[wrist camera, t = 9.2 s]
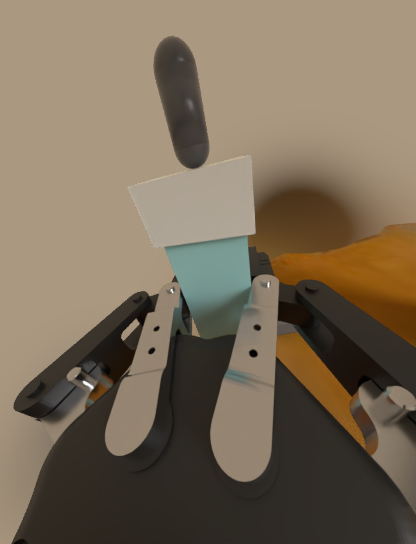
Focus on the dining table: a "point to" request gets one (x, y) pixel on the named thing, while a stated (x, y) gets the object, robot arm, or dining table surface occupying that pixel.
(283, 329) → the holster
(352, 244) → the dining table surface
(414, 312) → the dining table surface
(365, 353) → the robot arm
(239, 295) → the plug
